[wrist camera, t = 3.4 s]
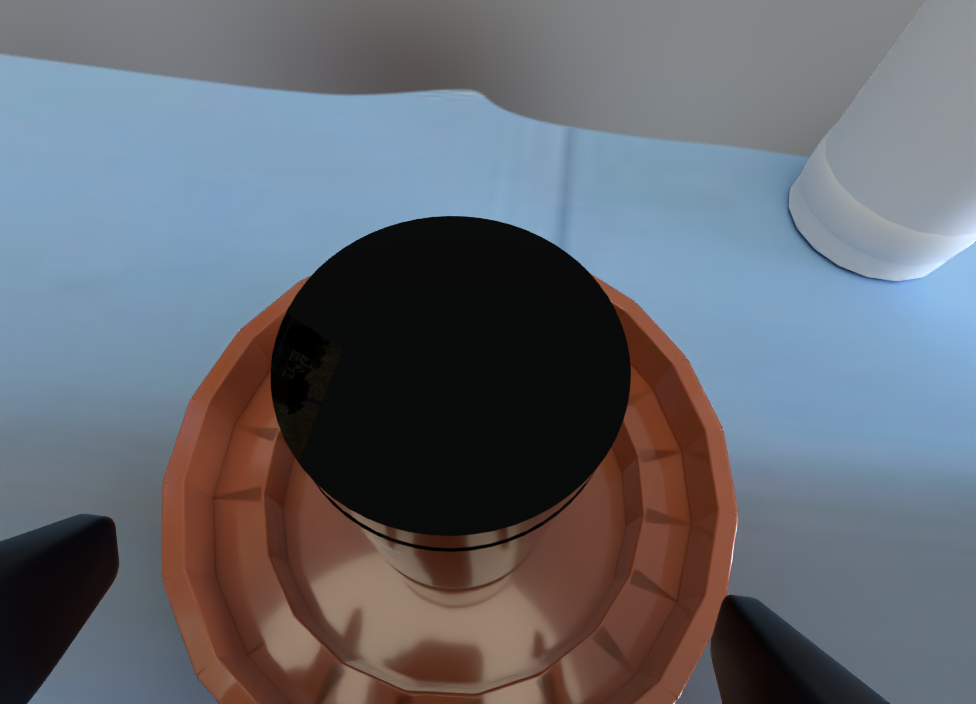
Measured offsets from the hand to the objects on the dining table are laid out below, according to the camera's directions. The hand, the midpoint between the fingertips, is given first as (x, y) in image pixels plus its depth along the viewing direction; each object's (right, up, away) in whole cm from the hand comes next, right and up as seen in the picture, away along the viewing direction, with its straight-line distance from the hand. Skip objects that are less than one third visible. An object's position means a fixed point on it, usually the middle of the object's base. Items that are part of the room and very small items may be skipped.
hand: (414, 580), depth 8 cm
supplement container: (0, -2, +12) cm, 12 cm away
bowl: (0, -2, +12) cm, 12 cm away
